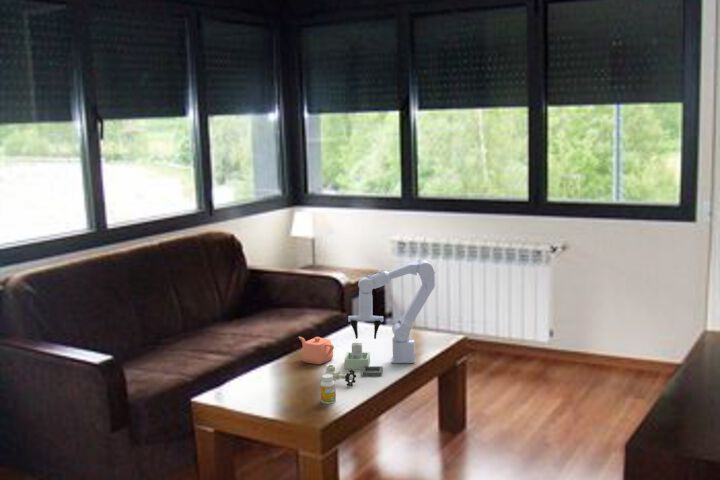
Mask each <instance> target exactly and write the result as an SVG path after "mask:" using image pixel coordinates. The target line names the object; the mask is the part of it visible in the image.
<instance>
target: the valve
mask: <svg viewBox="0 0 720 480" xmlns="http://www.w3.org/2000/svg"><path fill="white" fill-rule="evenodd" d="M325 374H332V375H333V381H335V382H336V380H340V379H341V380H344V382H347V383H346V386H347V387H353V385H354V384H356V382H357V381H356V379H355V378H357V377H358V376H357V375H356V369H348V372H346V373H345V374H346V375H345V374H344V373H341V372H340V371H336V365H334V364H328V365H326V366H325ZM325 374H324V375H325Z"/></svg>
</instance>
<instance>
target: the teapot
mask: <svg viewBox="0 0 720 480" xmlns="http://www.w3.org/2000/svg"><path fill="white" fill-rule="evenodd" d="M298 338H299V340H300V341H301V345H302V361H303V363H307V364H308V363H309V364H312V365H321V364H325V363H327V362H329V361H330V360H332V359H333V357H334V349H335V347H334V345H333V343H332V340H331V339H330V338H329V339H328V338H323V337H320V336H315V337H313V338H311V339H308V340H306V339H305V338H304V337H302V336H298Z"/></svg>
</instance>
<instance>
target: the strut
mask: <svg viewBox="0 0 720 480" xmlns="http://www.w3.org/2000/svg"><path fill="white" fill-rule="evenodd" d="M351 352H352V359H363V356H362V352H363V343H362V342H352V343H351Z"/></svg>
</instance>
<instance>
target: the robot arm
mask: <svg viewBox="0 0 720 480" xmlns="http://www.w3.org/2000/svg"><path fill="white" fill-rule="evenodd" d="M408 274H409V275H414V276H418V275H419V277H420V281H421V285H420V287H419V288H418V290H417V292H416V294H415V295H414V297H413V299H412V300H411V302H410V303H409V305H408V307H407V308H406V310H405V312H404V313H403V315H402V316H401V317H400V318H399V320H398V321H396V322H394V324H393V326H392V333H393V337H392V339H391V341H392V356H391V357H392V358H391V364H414V363H415V358H416V349H415V340H414V339H410V333H411V330H412V328H413V325H414V322H415V320H416V319H417V317H418V315H419V314H420V312H421V311H422V308H423V307H424V306H425V303H427V300H428V299H429V297H430V295H431V293H432V292H433V290H434V289H435V286H436V284H435V283H436V281H435V279H436V276H435V274H436V272H435V269H434V268H433V266H432V264H431V263H430V261H429V260H427V259H425V258H420V259H418V260H414V261H411V262H409V263H406V264H404V265H401V266H400V267H397V268H394V269H393V270H390V271H386V270H378V272H377V273H375V274H372V275H371V274H369V275H367V277H366V276H363V277H361V278H360V279H359V281H358V283H357V286H358V288H359V289H358V290H359V291H358V315H348V318H347V321H348V323H349V322H350V326H351V327H352V330H353V332H354V336H355V339H357V340H358V338H359V333H358V322H374V325H373V328H374V332H373V333H374V334H373V339H374V340H376V339H377V335H378V334H377V333H378V330H379V327H380V326H381V323H384V316H383V315H380V316H379V315H373V313H374V312H373V306H374V305H373V298H374V297H373V289H374V290H376V289H377V288H381V287H383V286H386V285H389V284H390V282H391V281H392V280H394V279H396V278H400V277H403V276H406V275H408Z"/></svg>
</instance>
